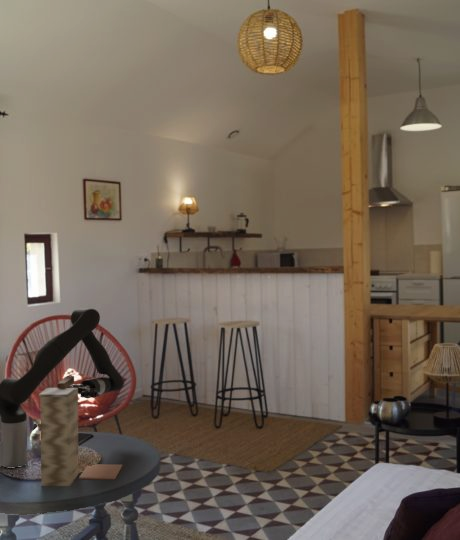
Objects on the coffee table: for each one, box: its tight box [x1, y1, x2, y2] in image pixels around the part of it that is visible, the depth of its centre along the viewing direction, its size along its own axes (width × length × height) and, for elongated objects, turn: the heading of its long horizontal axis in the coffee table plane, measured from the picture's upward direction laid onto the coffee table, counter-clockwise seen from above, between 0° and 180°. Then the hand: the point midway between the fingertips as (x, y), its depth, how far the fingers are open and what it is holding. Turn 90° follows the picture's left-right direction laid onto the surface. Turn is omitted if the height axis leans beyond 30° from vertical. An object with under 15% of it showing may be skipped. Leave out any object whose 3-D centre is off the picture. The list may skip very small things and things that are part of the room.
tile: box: [78, 463, 123, 480], centre depth 244 cm, size 13×14×1 cm
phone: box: [78, 432, 94, 446], centre depth 283 cm, size 8×1×15 cm
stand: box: [39, 388, 80, 487], centre depth 235 cm, size 10×12×32 cm
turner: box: [38, 375, 75, 398], centre depth 238 cm, size 10×23×2 cm, turn 178°
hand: (71, 392), depth 254 cm, fingers open, 8 cm apart
